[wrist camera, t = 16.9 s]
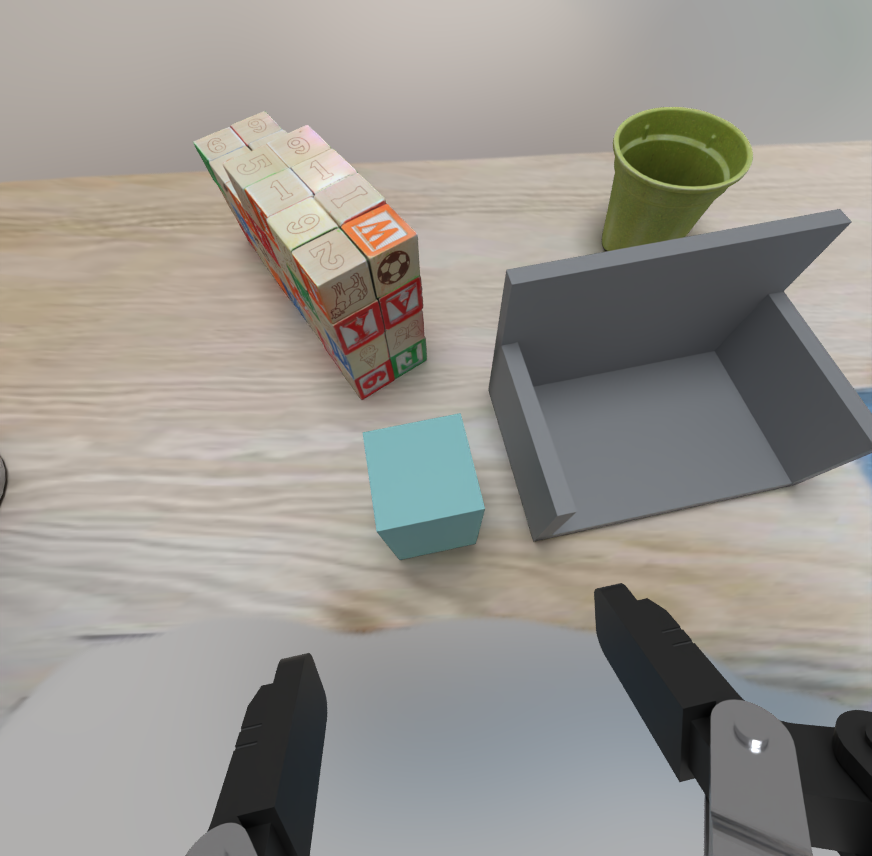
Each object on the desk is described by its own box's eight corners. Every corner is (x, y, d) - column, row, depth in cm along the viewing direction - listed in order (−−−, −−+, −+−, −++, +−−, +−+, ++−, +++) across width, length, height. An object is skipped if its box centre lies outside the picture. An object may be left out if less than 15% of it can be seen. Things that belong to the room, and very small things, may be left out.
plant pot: (573, 272, 37) (605, 176, 29) (590, 200, 41) (623, 98, 33) (686, 294, 35) (752, 199, 28) (693, 218, 39) (753, 115, 31)
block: (475, 543, 28) (484, 509, 19) (399, 560, 27) (376, 531, 19) (458, 472, 30) (460, 413, 22) (387, 486, 29) (362, 432, 21)
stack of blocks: (246, 241, 40) (166, 93, 29) (304, 213, 42) (250, 61, 30) (362, 402, 32) (315, 285, 21) (430, 361, 34) (419, 230, 23)
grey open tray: (795, 484, 28) (1007, 396, 18) (533, 541, 27) (586, 485, 17) (713, 345, 33) (840, 208, 22) (488, 390, 32) (506, 269, 21)
